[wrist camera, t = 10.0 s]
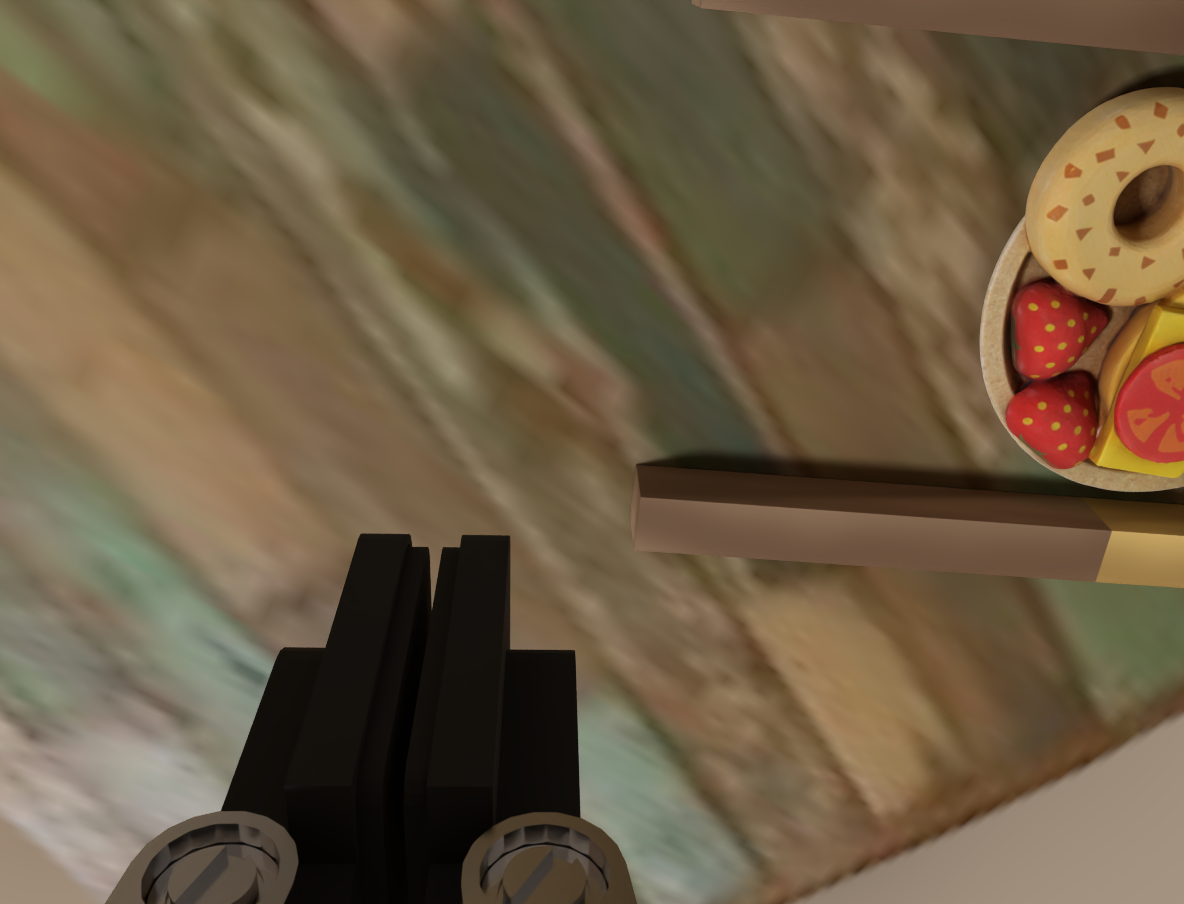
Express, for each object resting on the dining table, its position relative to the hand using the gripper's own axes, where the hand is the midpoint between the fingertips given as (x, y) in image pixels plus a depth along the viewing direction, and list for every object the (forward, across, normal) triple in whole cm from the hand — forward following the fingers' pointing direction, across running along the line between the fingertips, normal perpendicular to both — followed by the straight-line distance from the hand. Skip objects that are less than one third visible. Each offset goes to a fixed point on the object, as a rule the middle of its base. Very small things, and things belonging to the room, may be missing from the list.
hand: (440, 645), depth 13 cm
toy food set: (+25, -22, +4) cm, 33 cm away
